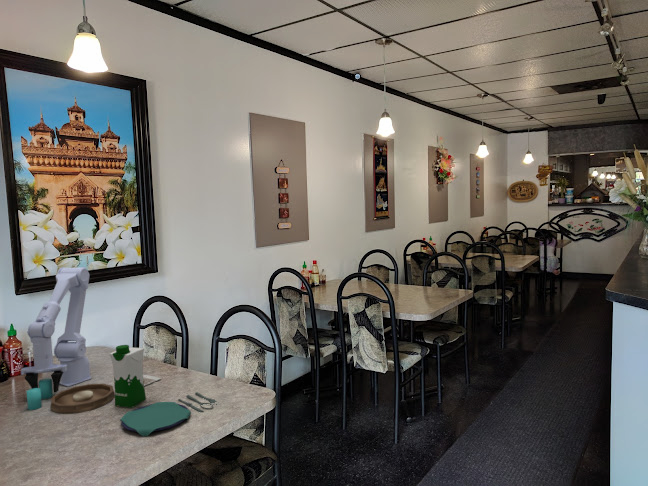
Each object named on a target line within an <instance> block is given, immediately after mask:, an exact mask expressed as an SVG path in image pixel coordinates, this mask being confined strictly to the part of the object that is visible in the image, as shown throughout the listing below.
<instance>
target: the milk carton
mask: <svg viewBox="0 0 648 486" xmlns="http://www.w3.org/2000/svg"><path fill="white" fill-rule="evenodd" d="M144 351H145V348H143V347H142V348H141V347H130V345H129V344H122V345H121V344H120V345H117V346H116V347H115V351H113V352H111V353H109V356H110V360H111V363H112V367H113V368H112V369H113V370H112V371H113V381H114V382H113V383H114V384H113V385H114V386H113V387H114V394H115V397H114V406H115V407H123V408H129V409H132V408H133V407H136V406H137V405H139V404H141V403H142V402H145V401H146V400H147V395H146V390H145V386H144V385H145V384H144V383H145V382H144V381H145V379H144V377H143V374H144V370H143V369H144V367H143V358H144V353H145V352H144ZM143 379H144V380H143Z"/></svg>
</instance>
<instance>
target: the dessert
mask: <svg viewBox="0 0 648 486" xmlns="http://www.w3.org/2000/svg"><path fill="white" fill-rule="evenodd" d="M145 379H149V380H154V381H150V382H148V383H146V384H144V387H146V386H148V385H150V384H153V383H155V382H157V381H160V380H162V377H158V376H153V375H148V374H144V373H143V380H144V383H145Z"/></svg>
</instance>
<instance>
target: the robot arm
mask: <svg viewBox="0 0 648 486" xmlns="http://www.w3.org/2000/svg"><path fill="white" fill-rule="evenodd" d="M55 281H56V284H55V285H54V289H53V291H52V294H51V296H50V299H49V301H47V302H44V303H43V305H42V307H41V309H40V311H39V313H38V315H37V317H36V319H35V321H33V322H31V323H30V324H29V325H28V328H27V331H26V333H27V336H28V338H29V340H30V342H31V343H32V352H33V353H32V354H33V363H34V364H33V365H34V366H30V367H29V366H27V367H23V368H21V369H20V375H21V376H23V375H25V376H24V379H25V381H26V382H27V383H28V384H29V386H30V389H33V388H39V374H43V373H44V374H45V373H51V374H50V377H51V379H52V390H53V394H54V393H55V394H57V392H58V391H59V386H60V385H62V386H65V387H71V386H74V385H77V384H80V383H82V382H85V381H88V380H91V379H92V377H91V369H90V360H89V358H88V357H87V356H86V353H87V352H86V351H87V347H86V338H85V337H84V336H83V335H82V334H81V329H82V322H83V314H84V307H85V301H86V300H85V299H86V294H87V289H88V288H89V281H90V273H89V271H88V269H87V268H86V267H85V266H82V267H60V268H58V271H57V273H56V275H55ZM68 292H69V293H70V296H69V302H68V306H67V307H68V308H67V313H66V319H65V328H64V331H63V332H64V333H63V334H61V335H60V336H59V337H57V340H56V344H55V346H54V348H53V345H52V344H53V342H52V336H53V335H54V333H55V329H56V328H55V326H56V319H57V318H58V316H59V314H60V312H61V306H60V305H61V302H62V300H63V299H64V297H65V296H66V294H67V293H68ZM54 357H55V358H56V359H57V361H59V364H57V363H56V364H54Z"/></svg>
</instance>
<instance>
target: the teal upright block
mask: <svg viewBox="0 0 648 486" xmlns="http://www.w3.org/2000/svg"><path fill="white" fill-rule="evenodd" d="M38 388H40V390H41V400H47V399H51V398H52V397H53V396H54V390H53V381H52V378H50V377H47V378H43V379H40V380H38Z"/></svg>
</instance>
